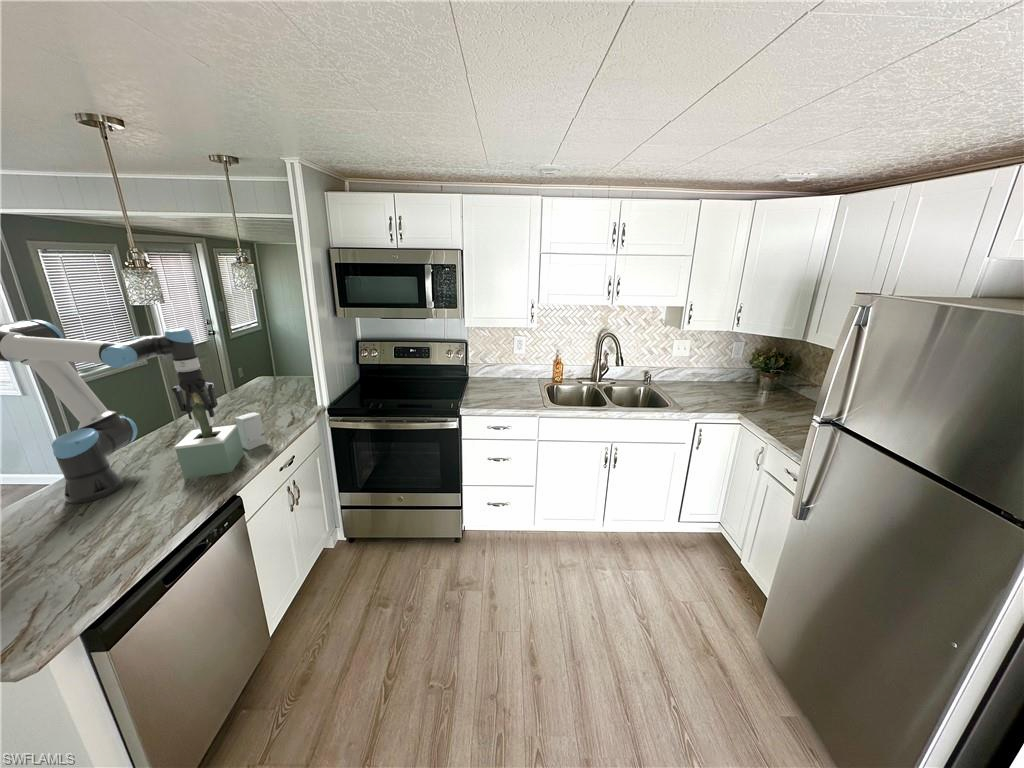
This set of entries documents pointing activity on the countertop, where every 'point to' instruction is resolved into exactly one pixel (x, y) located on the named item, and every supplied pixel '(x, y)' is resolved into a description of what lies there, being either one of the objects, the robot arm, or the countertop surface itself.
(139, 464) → the countertop surface
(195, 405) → the vegetable
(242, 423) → the skincare box
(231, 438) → the box
